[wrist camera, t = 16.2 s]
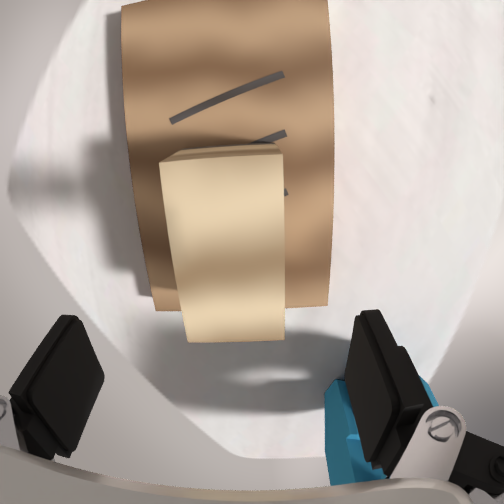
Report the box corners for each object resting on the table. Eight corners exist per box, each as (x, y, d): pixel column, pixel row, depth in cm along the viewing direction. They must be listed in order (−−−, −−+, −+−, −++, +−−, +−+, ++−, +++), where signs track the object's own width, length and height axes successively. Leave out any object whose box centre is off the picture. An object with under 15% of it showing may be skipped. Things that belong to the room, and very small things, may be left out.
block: (349, 412, 34) (382, 561, 16) (313, 406, 34) (337, 568, 15) (408, 340, 30) (488, 506, 12) (372, 329, 29) (447, 519, 11)
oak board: (131, 13, 18) (121, 6, 16) (320, -3, 18) (326, -12, 16) (161, 298, 28) (155, 311, 26) (322, 292, 27) (327, 306, 26)
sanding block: (183, 148, 21) (158, 162, 15) (274, 142, 20) (282, 154, 15) (200, 292, 25) (187, 342, 20) (278, 289, 25) (284, 340, 20)
